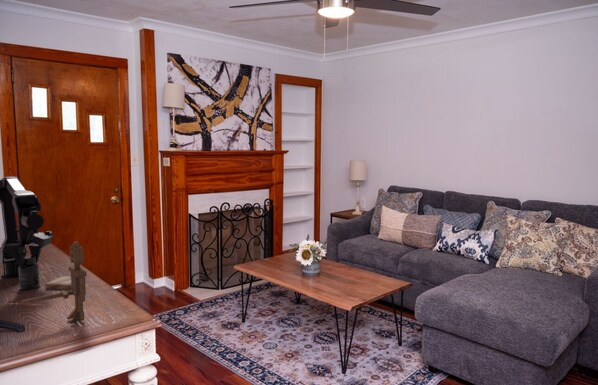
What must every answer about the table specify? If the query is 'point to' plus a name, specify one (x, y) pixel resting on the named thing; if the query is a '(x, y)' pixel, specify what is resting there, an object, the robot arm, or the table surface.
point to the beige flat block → (60, 283)
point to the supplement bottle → (29, 274)
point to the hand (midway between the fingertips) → (29, 266)
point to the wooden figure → (76, 283)
